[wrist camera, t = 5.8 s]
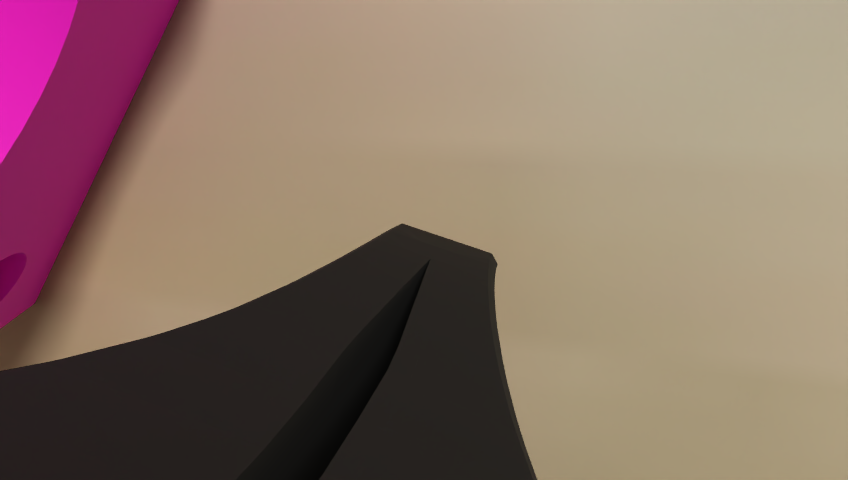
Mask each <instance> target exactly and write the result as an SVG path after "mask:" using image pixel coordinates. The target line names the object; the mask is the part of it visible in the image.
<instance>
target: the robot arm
mask: <svg viewBox="0 0 848 480" xmlns="http://www.w3.org/2000/svg"><path fill="white" fill-rule="evenodd" d="M496 267H497V262H496V260H495V259H494V257H493V255H492V254H491V253H488V252H486V251H483V250H480V249H477V248H474V247H471V246H468V245H465V244H462V243H459V242H456V241H453V240H450V239H447V238H444V237H441V236H438V235H435V234H432V233H429V232H426V231H423V230H420V229H417V228H414V227H411V226H408V225H405V224H400V225H398V226H396V227H394V228H392V229H390V230H388V231H386V232H385V233H383V234H381V235H379V236H378V237H376V238H374V239H372V240H371V241H369V242H367V243H366V244H364V245H362V246H360V247H359V248H357V249H355V250H353V251H351V252H350V253H348V254H346V255H344V256H342V257H341V258H339V259H337V260H335V261H333V262H331V263H329V264H327V265H325V266H324V267H322V268H320V269H318V270H316V271H314V272H312V273H310V274H308V275H306V276H304V277H302V278H300V279H298V280H296V281H294V282H292V283H290V284H288V285H286V286H284V287H281V288H279V289H277V290H275V291H272V292H270V293H268V294H266V295H263V296H261V297H259V298H257V299H254V300H252V301H250V302H248V303H245V304H243V305H241V306H239V307H236V308H234V309H231V310H229V311H226V312H223V313H220V314H218V315H215V316H212V317H210V318H207V319H204V320H201V321H198V322H195V323H192V324H189V325H186V326H183V327H179V328H176V329H173V330H170V331H167V332H164V333H161V334H157V335H154V336H151V337H147V338H143V339H140V340H136V341H132V342H128V343H124V344H120V345H116V346H112V347H108V348H104V349H100V350H96V351H92V352H88V353H84V354H80V355H76V356H72V357H68V358H64V359H60V360H55V361H50V362H46V363H40V364H35V365H30V366H25V367H20V368H14V369H9V370H4V371H0V480H537V478H536V475H535V473H534V470H533V467H532V464H531V461H530V459H529V456H528V453H527V450H526V447H525V444H524V441H523V438H522V435H521V432H520V428H519V425H518V422H517V418H516V415H515V411H514V407H513V403H512V399H511V395H510V392H509V388H508V384H507V379H506V375H505V370H504V365H503V360H502V354H501V348H500V342H499V336H498V329H497V321H496V312H495V296H494V284H495V272H496Z"/></svg>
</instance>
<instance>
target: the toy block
mask: <svg viewBox="0 0 848 480" xmlns="http://www.w3.org/2000/svg"><path fill="white" fill-rule="evenodd" d="M178 2H179V0H0V329H1V328H2V327H4V326H5V325H6V324H8V323H9V322H10V321H12V320H13V319H14V318H16V317H17V316H18V315H20V314H21V313H22V312H24V311H25V310H26V309H28V308H29V307H30V306H32V305H33V304H35V302H36V300H37V298H38V296H39V294H40V291H41V289H42V287H43V285H44V283H45V281H46V279H47V277H48V275H49V273H50V270H51V268H52V266H53V264H54V262H55V260H56V258H57V256H58V254H59V252H60V249H61V247H62V245H63V243H64V241H65V239H66V237H67V235H68V233H69V231H70V228H71V226H72V224H73V222H74V220H75V218H76V216H77V214H78V212H79V210H80V207H81V205H82V203H83V201H84V199H85V197H86V195H87V193H88V191H89V189H90V186H91V184H92V182H93V180H94V178H95V176H96V174H97V172H98V170H99V168H100V165H101V163H102V161H103V159H104V157H105V155H106V153H107V151H108V149H109V147H110V144H111V142H112V140H113V138H114V136H115V134H116V132H117V130H118V128H119V126H120V123H121V121H122V119H123V117H124V115H125V113H126V111H127V109H128V107H129V105H130V102H131V100H132V98H133V96H134V94H135V92H136V90H137V88H138V86H139V84H140V81H141V79H142V77H143V75H144V73H145V71H146V69H147V67H148V65H149V63H150V60H151V58H152V56H153V54H154V52H155V50H156V48H157V46H158V44H159V42H160V39H161V37H162V35H163V33H164V31H165V29H166V27H167V25H168V23H169V21H170V19H171V16H172V14H173V12H174V10H175V8H176V6H177V4H178Z"/></svg>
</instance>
